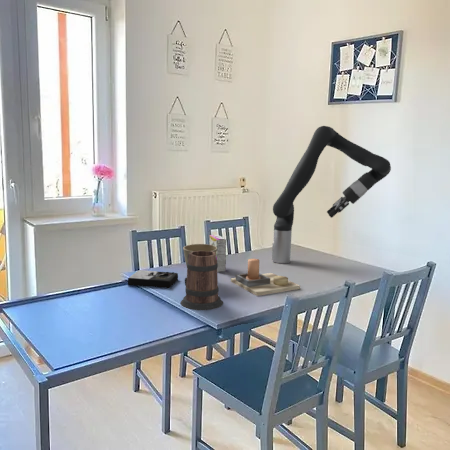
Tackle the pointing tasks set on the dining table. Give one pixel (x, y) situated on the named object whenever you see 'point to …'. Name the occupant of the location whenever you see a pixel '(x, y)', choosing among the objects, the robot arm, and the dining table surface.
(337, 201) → the robot arm
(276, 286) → the carrier plate
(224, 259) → the candy bar box
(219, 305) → the tankard
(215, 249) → the plant pot
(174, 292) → the dining table surface
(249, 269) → the orange flanged cylinder
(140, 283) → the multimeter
